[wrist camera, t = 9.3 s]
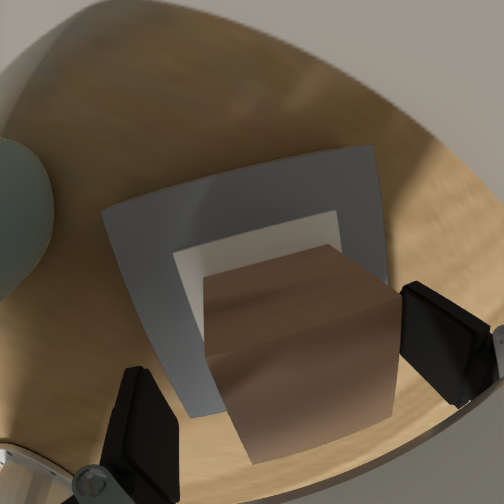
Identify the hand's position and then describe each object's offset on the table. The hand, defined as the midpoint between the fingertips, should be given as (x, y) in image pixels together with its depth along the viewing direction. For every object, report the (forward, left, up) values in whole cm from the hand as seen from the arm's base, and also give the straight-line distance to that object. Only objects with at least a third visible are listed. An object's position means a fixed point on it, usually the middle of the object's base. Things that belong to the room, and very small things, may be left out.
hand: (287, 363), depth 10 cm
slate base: (0, 0, -7) cm, 7 cm away
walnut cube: (0, -1, -4) cm, 4 cm away
